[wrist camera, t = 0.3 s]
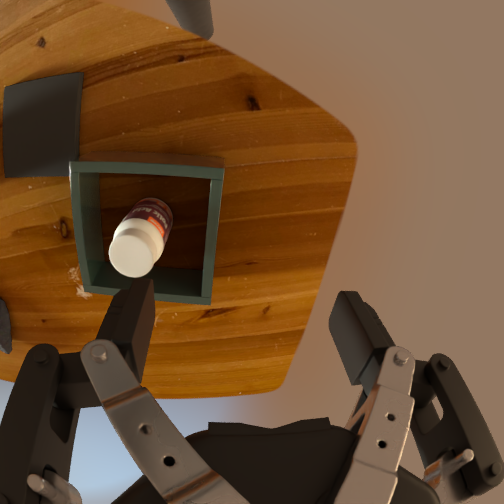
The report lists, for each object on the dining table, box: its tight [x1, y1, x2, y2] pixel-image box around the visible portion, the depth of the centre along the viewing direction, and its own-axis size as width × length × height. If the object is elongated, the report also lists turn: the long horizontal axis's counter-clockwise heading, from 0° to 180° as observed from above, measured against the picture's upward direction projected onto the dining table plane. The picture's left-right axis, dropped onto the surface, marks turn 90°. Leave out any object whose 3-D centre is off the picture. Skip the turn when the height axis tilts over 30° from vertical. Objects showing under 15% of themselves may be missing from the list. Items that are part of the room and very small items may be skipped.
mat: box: [3, 72, 84, 178], centre depth 22 cm, size 11×11×1 cm
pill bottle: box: [109, 198, 173, 277], centre depth 26 cm, size 5×5×8 cm
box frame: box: [70, 151, 225, 305], centre depth 27 cm, size 14×14×5 cm
